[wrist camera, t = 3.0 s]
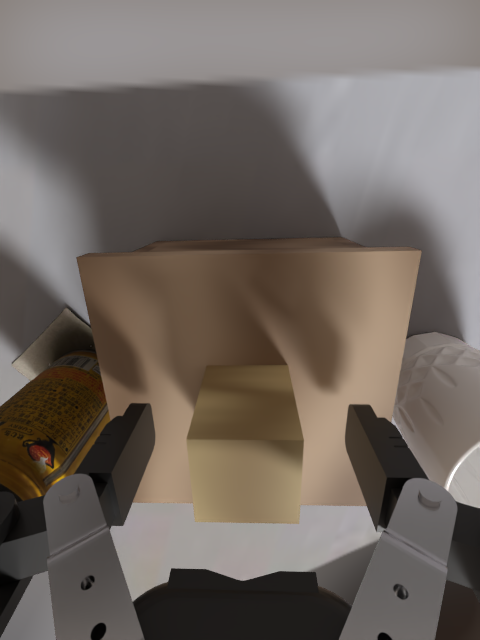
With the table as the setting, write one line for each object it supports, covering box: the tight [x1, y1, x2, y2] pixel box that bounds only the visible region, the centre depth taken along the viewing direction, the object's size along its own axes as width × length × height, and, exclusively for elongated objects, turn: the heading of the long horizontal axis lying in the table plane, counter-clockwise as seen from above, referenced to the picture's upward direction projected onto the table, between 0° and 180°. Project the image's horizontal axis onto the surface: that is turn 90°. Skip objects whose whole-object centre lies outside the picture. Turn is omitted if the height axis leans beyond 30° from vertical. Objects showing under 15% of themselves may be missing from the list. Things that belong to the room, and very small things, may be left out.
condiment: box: [0, 308, 111, 502], centre depth 19 cm, size 7×8×12 cm
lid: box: [76, 247, 422, 524], centre depth 13 cm, size 13×13×6 cm
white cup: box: [392, 332, 480, 508], centre depth 19 cm, size 8×8×10 cm
